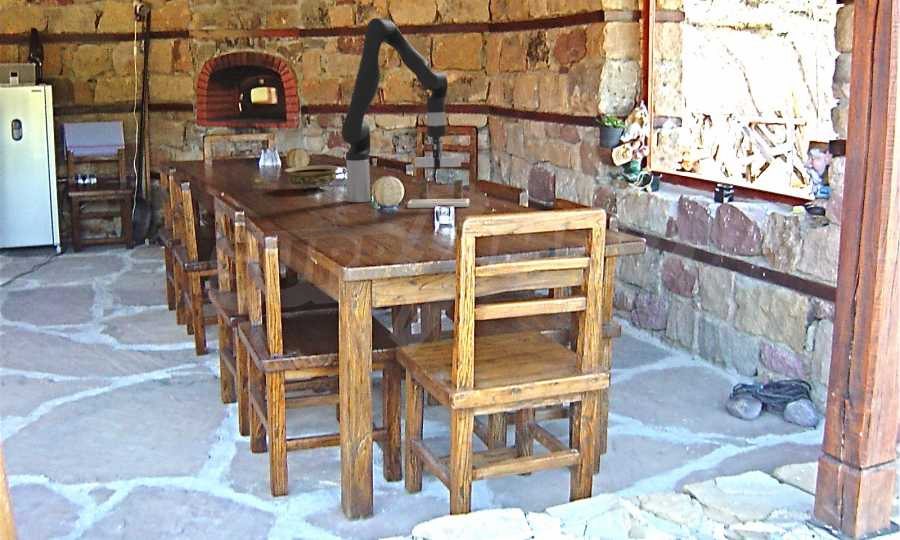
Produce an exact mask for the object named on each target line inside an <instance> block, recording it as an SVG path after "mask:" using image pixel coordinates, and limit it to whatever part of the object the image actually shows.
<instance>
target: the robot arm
mask: <svg viewBox="0 0 900 540" xmlns="http://www.w3.org/2000/svg"><path fill="white" fill-rule="evenodd" d="M404 36H405V35H403V33H402V32H401V31H400V30H399V29H398V26H396V24H395V23H394V22H393V21H392V20H390V19H388V18H382V17H381V18H380V17H376V18H375V17H374V18H372V19H370V21H369V22H367V26H366V29H365V35H364V43H363V48H362V52H361V53H362V54H361V57H360V62H359V65H358V66H359V67H358V71H357V74H356V78H355V83H354V87H353V92H352V95H351V99H350V103H349V107H348V110H347V114H346V116H345V119H344V121H343V124H342V126H341V137H342V139H343V140H344V142H346V143H347V144H350V145H349V148H348V151H347V152H346V153H345V154H346V155H345V158H346V179H345V185H346V202H349V203H365V202H370V201H371V181H370V160H369V159H370V156H369V155H370V152H371V130H370V126H369V124H368V123H367V121H365V120H364V117H365V115H366V111H367V110H368V108H369V107H370V105H371V103H372V101H373V100H374V98H375V96H376V94H377V91H378V88H379V84H380V81H381V70H380V69H381V68H380V62H379V53H380V50H381V46H382V43H386V44H387V45H388V46H389V47H391V48H393V49H394V50H395V51H396V53H397V54H398V55H399V57H400V59H401V61H402V62H403V65H405V67H407V68H408V70H410V72H412V73H413V74H414V75H415V76H416V78H417V80H418V82H419V83H420V84H421V86H422V87H423V88H424V89H426V90H427V91H431V95H430V96H429V97H428V98H427V100H426V135H427V137H430V138H432V141H431V153H432V157H433V159H434V167H433V168H434V169H435V170H439V169H441V167H440V157H443V153H442V152H443V140H442V138H443V137H446V136H447V117H446V116H447V115H446V104H445V101H446V97H447V91H448V84H449V82H448V77H447V75H446V73H444V72H443V71H432V70H431V69H430V67H431V66H430V63H429V61H428V60H426V58H425V57H424V56H422V54H420V53H419V52H418V50H416V49H415V48H414V47H413V46H412V44H411V43H410V42H409V41H408V40H407V39H406V38H405V37H404Z"/></svg>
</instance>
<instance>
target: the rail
mask: <svg viewBox="0 0 900 540" xmlns="http://www.w3.org/2000/svg"><path fill="white" fill-rule="evenodd" d="M413 160H414V161H413V162H414V165H413V167H414V168H434V159H433V156H427V157H425V156H423V157H422V156H421V157H419V156H418V157H414V159H413ZM461 166H462V156H442V157H440V168H449V167H450V168H455V167H456V168H457V167H458V168H459V167H461Z"/></svg>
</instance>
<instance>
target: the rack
mask: <svg viewBox="0 0 900 540" xmlns="http://www.w3.org/2000/svg"><path fill="white" fill-rule="evenodd" d="M463 181H464V180H463V179H455V180H454V181H453V199H464V187H463V186H464V185H463ZM418 186H419V188H418V190H419V191H418V193H419V199H430V192H429V190H430V189H429V180H420V181H419V182H418Z"/></svg>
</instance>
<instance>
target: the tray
mask: <svg viewBox="0 0 900 540" xmlns="http://www.w3.org/2000/svg"><path fill="white" fill-rule="evenodd" d="M469 203H471V202H470V198H463V199H454V198H429V199H420V198H417V199H410V200H409V201H408V202H407V209H435V208H434V207H435V206H438V205H453V206H455V207H468V208H469V206H468V205H470V204H469Z"/></svg>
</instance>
